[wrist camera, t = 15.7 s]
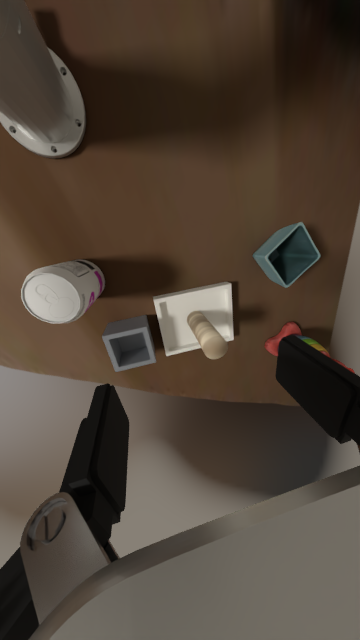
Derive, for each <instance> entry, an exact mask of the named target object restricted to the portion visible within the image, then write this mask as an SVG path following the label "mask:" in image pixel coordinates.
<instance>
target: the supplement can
mask: <svg viewBox="0 0 360 640" xmlns="http://www.w3.org/2000/svg"><path fill="white" fill-rule="evenodd" d="M104 287H105V279H104V275H103V273H102V272H101V270H100V269H99V268H98V267H97V266H96V265H95V264H94V263H92V262H89V261H87V260H79V259H77V260H73V261H68V262H64V263H59V264H55V265H51V266H46V267H43V268H39V269H36V270H34V271H33V272H31V273H30V274H29V275H28V276H27V277H26V279H25V282H24V284H23V287H22V289H21V297H22V301H23V303H24V305H25V307H26V309H27V310H28V311H29V312H30V313H31V314H32V315H33V316H35V317H36V318H38V319H40V320H41V321H45V322H48V323H69V322H72V321H75V320H77V319H78V318H79V317H81V316H82V315H83V314H84V313H85V312H86V311H87V309H88V308H89V307H90V306H91V305H92V304H93V303H94V301H95V300H96V299H97V298H98V297H99V296H100V294H101V293H102V291H103V290H104Z"/></svg>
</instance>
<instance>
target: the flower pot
mask: <svg viewBox="0 0 360 640" xmlns="http://www.w3.org/2000/svg"><path fill="white" fill-rule="evenodd" d="M320 256H321V255H320V253H319V251H318V249H317V248H316V246H315V244H314V242H313V241H312V239H311V237H310V235H309V233H308V231H307V230H306V228H305V225H304V224H303V223H302V222H299V223H296V224H293V225H290V226H287V227H284V228H282V229H280V230H278V231H277V232H275V233H274V234H273V235H272V236H271V237H270V238H269V239H268V240H267V241H266V242H265V243H264V244H263V245H262V246H261V247H260V248H259V249H258V250H257V251H256V252H255V253H254V254H253V258H254V259H255V260H256V262H257V263H258V264H259V266H260V267H261V268H262V270H263V271H264V272H265V274H266V275H267V276H268V278H269V279H271V280H272V281H274V282H276V283H277V284H279V285H281V286H283V287H285V288H287V287H289V286H290V285H291V284H292V283H293V282H294V281H295V280H296V279H297V278H298V277H300V276H301V275H302V274H303V273H304V272H305V271H306V270H307V269H308V268H309V267H311V266H312V265H313V264H314V263H315V262H316V261H317V260H318V259H319V258H320ZM269 259H271V261H269Z"/></svg>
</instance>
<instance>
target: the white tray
mask: <svg viewBox="0 0 360 640" xmlns="http://www.w3.org/2000/svg"><path fill="white" fill-rule="evenodd" d="M153 300H154V304H155V308H156V313H157V317H158V321H159V326H160V330H161V335H162V339H163V343H164V348H165V352H166V356H169V355H173V354H177V353H181V352H185V351H190V350H194V349H198V348H201V346H200V344H199V342H198V341H197V339H196V337H195V335H194V334H193V332H192V330H191V328H190V327H189V325H188V323H187V317H188V315H189V314H190V313H191V312H193V311H200V312H201V313H202V314H203V315H204V316H205V317H206V318H207V319H208V321H209V322H210V323H211V324H212V325H213V326H214V328H215V329H216V330H217V331H218V332H219V333H220V334H221V336H222V337H223V338H224V339H225V340H226V342H227V341H231V340H234V335H233V312H232V289H231V283H229V282H222V283H218V284H213V285H208V286H203V287H198V288H193V289H188V290H184V291H179V292H174V293H169V294H164V295H159V296H154V297H153Z"/></svg>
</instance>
